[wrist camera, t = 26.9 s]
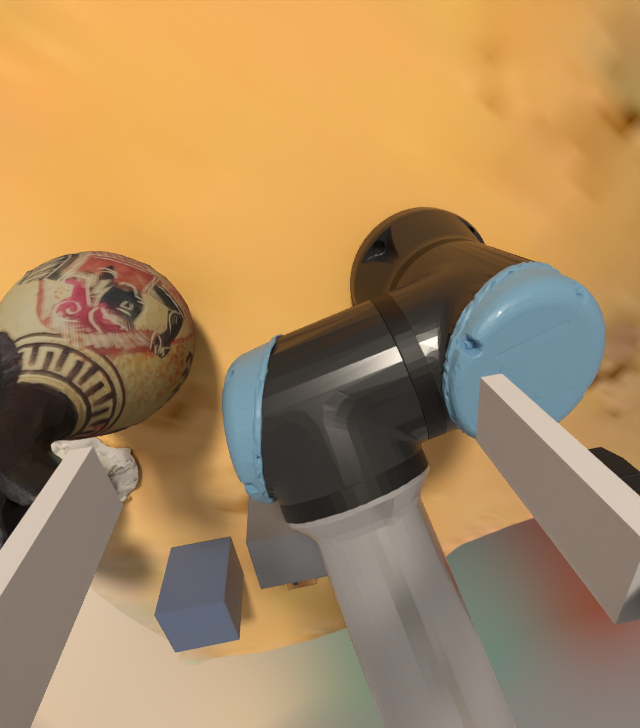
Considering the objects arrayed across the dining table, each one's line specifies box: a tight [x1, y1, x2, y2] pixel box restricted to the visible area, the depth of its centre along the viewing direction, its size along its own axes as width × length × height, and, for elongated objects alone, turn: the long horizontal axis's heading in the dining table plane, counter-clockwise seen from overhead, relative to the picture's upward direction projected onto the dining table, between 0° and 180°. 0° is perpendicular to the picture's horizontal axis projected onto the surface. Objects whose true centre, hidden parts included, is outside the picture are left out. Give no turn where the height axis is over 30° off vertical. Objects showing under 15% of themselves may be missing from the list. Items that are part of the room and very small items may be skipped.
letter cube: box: [287, 578, 317, 590], centre depth 61 cm, size 4×4×5 cm
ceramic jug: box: [0, 251, 195, 550], centre depth 29 cm, size 17×15×30 cm
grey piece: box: [51, 437, 139, 502], centre depth 44 cm, size 14×20×16 cm
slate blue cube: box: [155, 537, 243, 652], centre depth 57 cm, size 9×9×10 cm
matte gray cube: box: [246, 496, 328, 589], centre depth 53 cm, size 9×9×10 cm
